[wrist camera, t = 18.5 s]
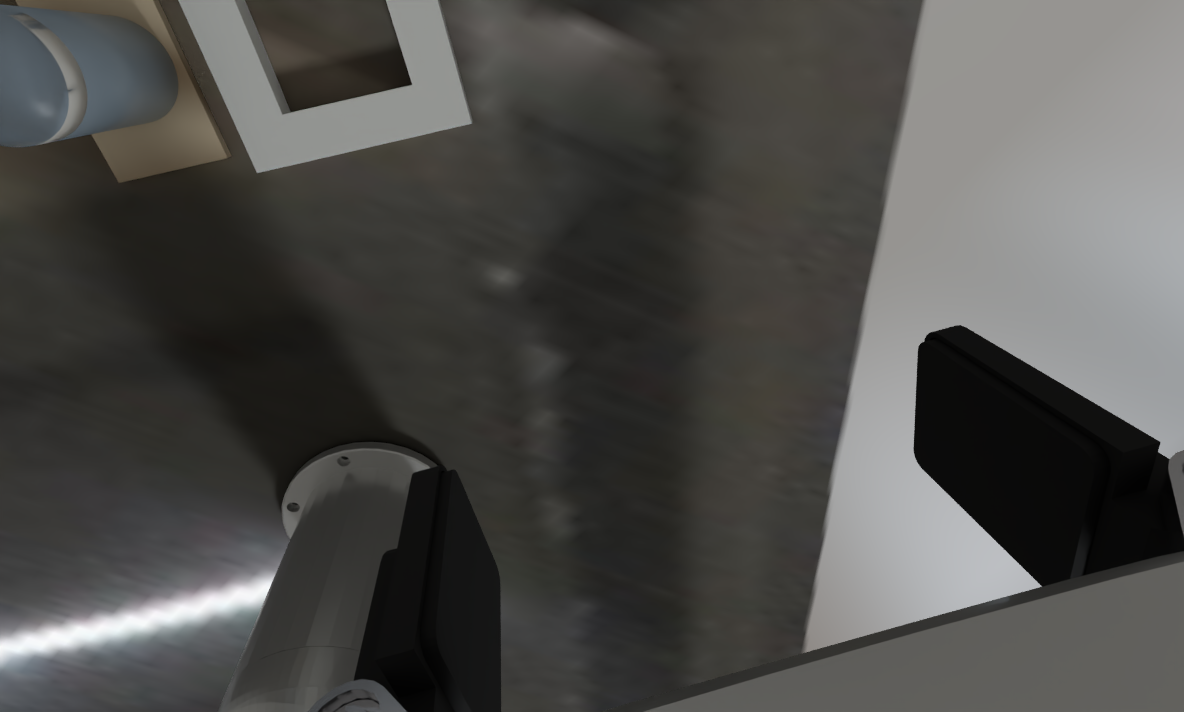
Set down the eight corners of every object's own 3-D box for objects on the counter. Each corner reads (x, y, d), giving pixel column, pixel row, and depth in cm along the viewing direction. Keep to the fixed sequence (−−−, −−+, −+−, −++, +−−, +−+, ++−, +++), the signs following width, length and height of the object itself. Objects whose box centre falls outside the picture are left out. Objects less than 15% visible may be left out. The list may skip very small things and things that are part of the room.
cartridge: (196, 111, 32) (96, 131, 24) (102, 133, 32) (-30, 160, 24) (145, 4, 29) (15, -14, 21) (43, 27, 29) (-126, 17, 21)
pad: (231, 156, 33) (227, 158, 33) (124, 181, 33) (118, 183, 33) (132, -56, 29) (125, -58, 28) (7, -29, 29) (-2, -30, 28)
